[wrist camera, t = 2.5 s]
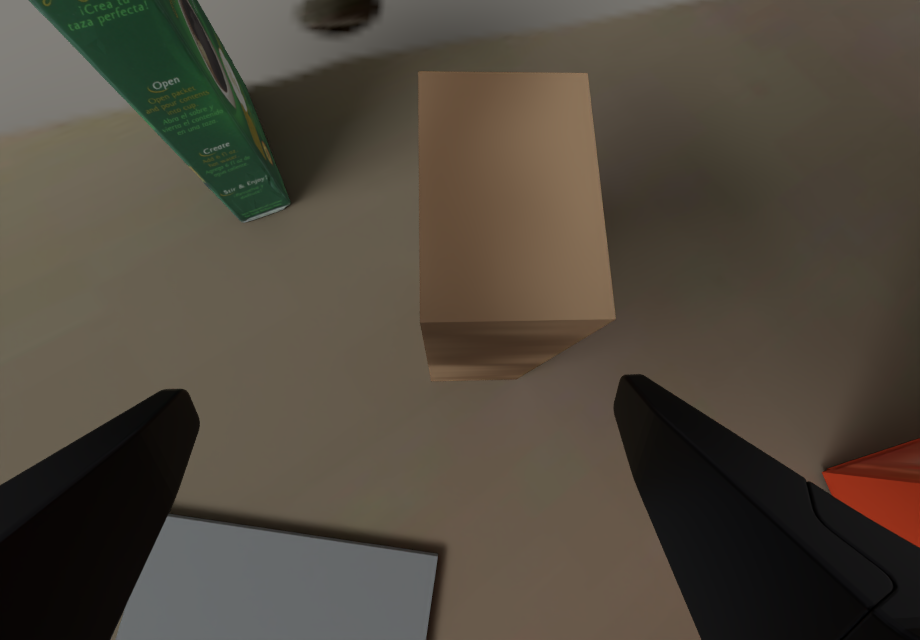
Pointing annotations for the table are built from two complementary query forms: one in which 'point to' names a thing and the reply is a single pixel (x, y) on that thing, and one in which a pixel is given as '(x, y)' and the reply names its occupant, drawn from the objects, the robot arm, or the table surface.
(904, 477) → the file binder
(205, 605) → the mat
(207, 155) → the coffee box
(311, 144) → the table surface
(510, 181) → the tall wooden block tower
